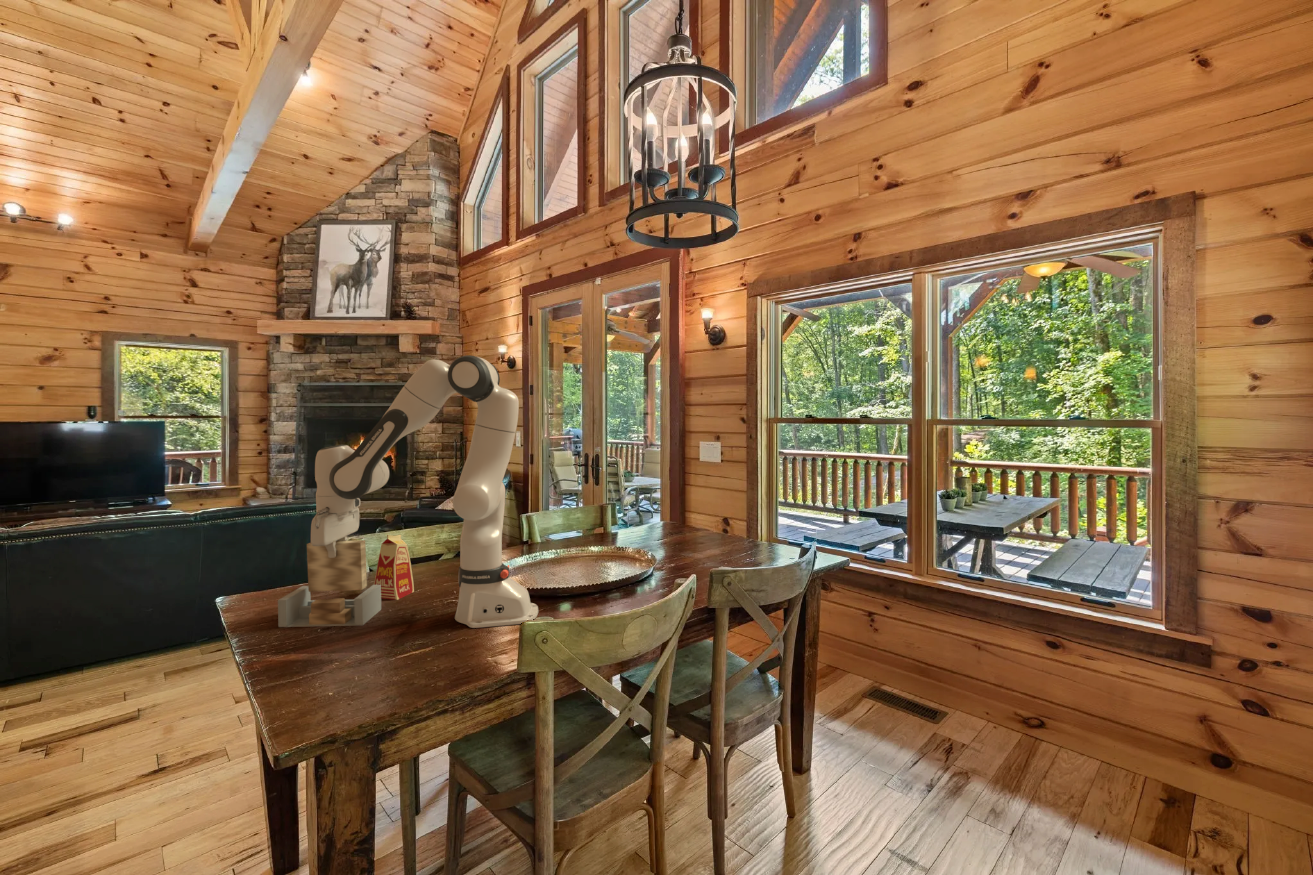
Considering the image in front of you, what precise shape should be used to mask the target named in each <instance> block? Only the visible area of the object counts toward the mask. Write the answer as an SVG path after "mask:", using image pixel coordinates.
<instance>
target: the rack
mask: <svg viewBox="0 0 1313 875" xmlns="http://www.w3.org/2000/svg"><path fill="white" fill-rule="evenodd" d="M311 599H312V597H311V592H309V588H308V585H301V586H300V587H298V588H297V589H295V590H293V591H292V592H290V593H287V594H286V595H284V596H282V597H281V598H279V599H278V600H277V613H278V614H277V616H278V618H277V619H278V620H277V621H278V624H277V625H278V628H291V627H292V628H295V627H298V628H299V627H334V626H335V627H341V626H343V627H348V626H349V627H351V626H356V627H357V626H364V625H365V624H366V623H368V622H369V621H370V620H371V619H372V618H373V617H374V616H376V614H378V613H379V612H380V611H381V610H382V599H381V585H374V584H372V585H371V586H369V587H368V588H367V589H366V590H364V591H363V592H362V593H360V594H359V595H357V596H356V597H355V598H354V599H345V609H351V619H350V620H349V621H348V622H347V623H345V624H314V625H309V614H310V613H311V603H312V602H314V601H315V600H316V599H313V600H311Z"/></svg>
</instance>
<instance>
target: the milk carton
mask: <svg viewBox="0 0 1313 875" xmlns="http://www.w3.org/2000/svg"><path fill="white" fill-rule="evenodd" d="M380 544H381V545H380V550H379V556H378V560H377V566H376V570H375V571H376V572H375V578H374V583H373V585H381V600H382V599H383V600H392V601H393V600H395V601H398V600H400V599H402V598H404V597H406V596H408V595H410V594H412V593H414V592H415V587H414V578H413V571H412V563H411V558H410V552H409V547H408V544H407V543H406V542H405V541H404V540H403V539H402V534H397V535H392V534H386V539H385V540H383V541H382V543H380Z"/></svg>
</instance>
